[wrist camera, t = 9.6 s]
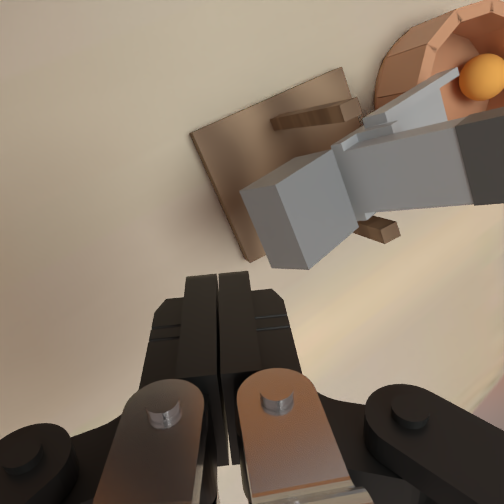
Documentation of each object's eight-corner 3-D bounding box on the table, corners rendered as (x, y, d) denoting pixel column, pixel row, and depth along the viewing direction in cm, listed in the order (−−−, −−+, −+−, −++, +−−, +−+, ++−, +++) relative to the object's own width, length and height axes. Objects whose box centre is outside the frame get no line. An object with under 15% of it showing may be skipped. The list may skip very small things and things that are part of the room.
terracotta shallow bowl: (394, 3, 40) (443, -23, 34) (506, 44, 44) (568, 28, 38) (359, 151, 42) (400, 151, 36) (470, 177, 46) (523, 181, 40)
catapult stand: (245, 259, 41) (305, 310, 28) (189, 133, 37) (228, 124, 24) (374, 194, 43) (486, 213, 30) (333, 69, 39) (441, 29, 26)
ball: (497, 39, 38) (466, 48, 42) (469, 80, 38) (441, 86, 42) (528, 68, 39) (495, 75, 43) (500, 107, 39) (471, 111, 43)
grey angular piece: (275, 276, 27) (510, 291, 17) (234, 181, 25) (473, 133, 15) (420, 159, 37) (620, 125, 27) (399, 85, 35) (606, 18, 25)
